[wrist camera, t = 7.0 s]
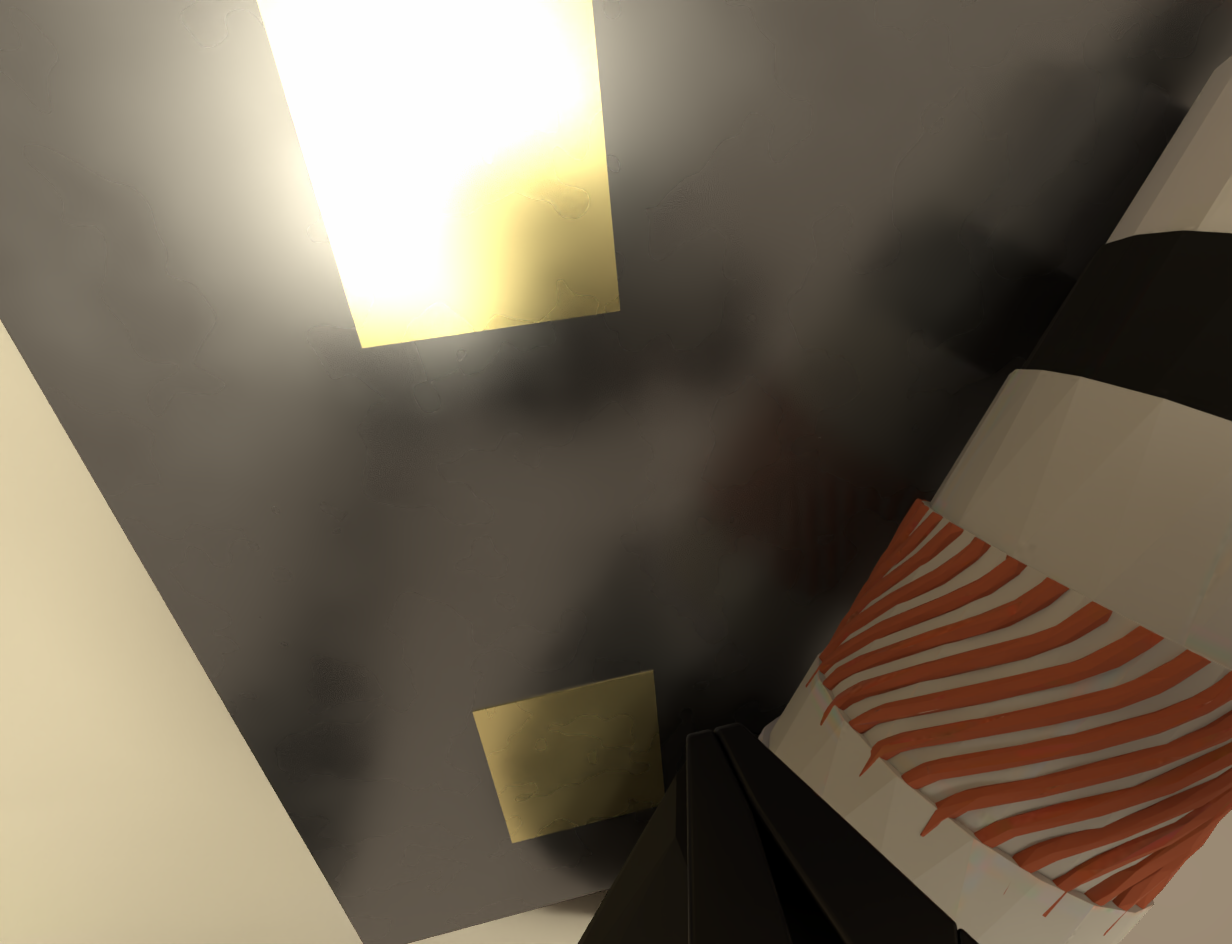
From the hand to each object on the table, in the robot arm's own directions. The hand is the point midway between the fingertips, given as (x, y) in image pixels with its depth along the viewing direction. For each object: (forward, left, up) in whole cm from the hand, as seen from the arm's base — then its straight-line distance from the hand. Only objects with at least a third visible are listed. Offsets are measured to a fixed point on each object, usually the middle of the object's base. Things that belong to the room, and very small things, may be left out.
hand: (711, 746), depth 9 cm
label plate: (0, -3, -6) cm, 7 cm away
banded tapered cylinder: (-3, -8, -6) cm, 10 cm away
